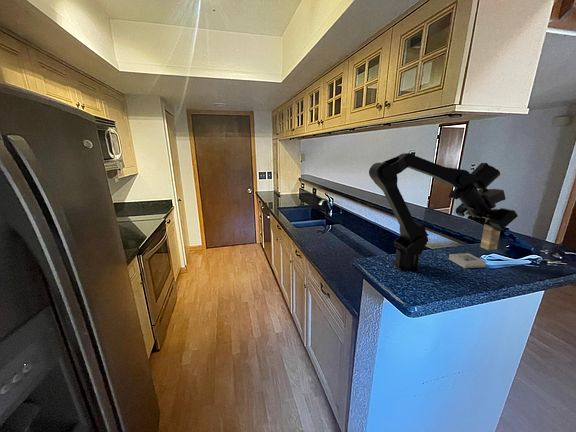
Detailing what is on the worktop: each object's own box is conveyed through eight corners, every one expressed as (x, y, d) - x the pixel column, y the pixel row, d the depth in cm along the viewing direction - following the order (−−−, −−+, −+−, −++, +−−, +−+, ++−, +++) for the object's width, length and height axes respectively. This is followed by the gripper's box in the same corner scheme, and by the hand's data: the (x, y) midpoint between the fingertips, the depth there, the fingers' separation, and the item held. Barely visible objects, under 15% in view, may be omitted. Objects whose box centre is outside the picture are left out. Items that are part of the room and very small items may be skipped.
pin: (488, 250, 84) (495, 210, 81) (480, 246, 87) (487, 209, 84) (496, 249, 84) (504, 210, 81) (488, 246, 87) (495, 208, 84)
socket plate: (464, 268, 83) (465, 262, 82) (448, 259, 90) (449, 254, 90) (485, 267, 83) (486, 261, 83) (467, 258, 91) (468, 253, 90)
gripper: (518, 184, 71) (544, 219, 74) (467, 178, 89) (490, 207, 92) (488, 211, 72) (515, 244, 75) (444, 200, 90) (467, 227, 93)
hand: (495, 228), depth 84 cm, fingers closed on pin, 3 cm apart
